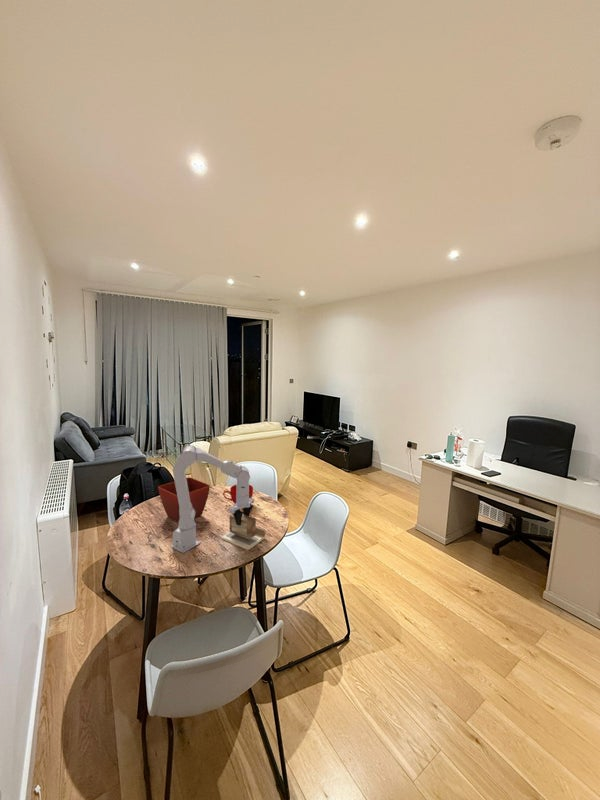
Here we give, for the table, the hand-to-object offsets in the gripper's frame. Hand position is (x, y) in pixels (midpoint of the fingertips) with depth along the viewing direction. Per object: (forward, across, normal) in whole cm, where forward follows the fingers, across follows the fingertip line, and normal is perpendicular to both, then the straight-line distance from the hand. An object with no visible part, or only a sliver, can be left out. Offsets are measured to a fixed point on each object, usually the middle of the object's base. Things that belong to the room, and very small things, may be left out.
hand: (242, 522), depth 148 cm
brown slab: (+5, 0, 0) cm, 5 cm away
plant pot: (+8, 0, +40) cm, 41 cm away
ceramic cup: (+8, +27, +27) cm, 39 cm away
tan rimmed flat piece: (+8, +1, 0) cm, 8 cm away
